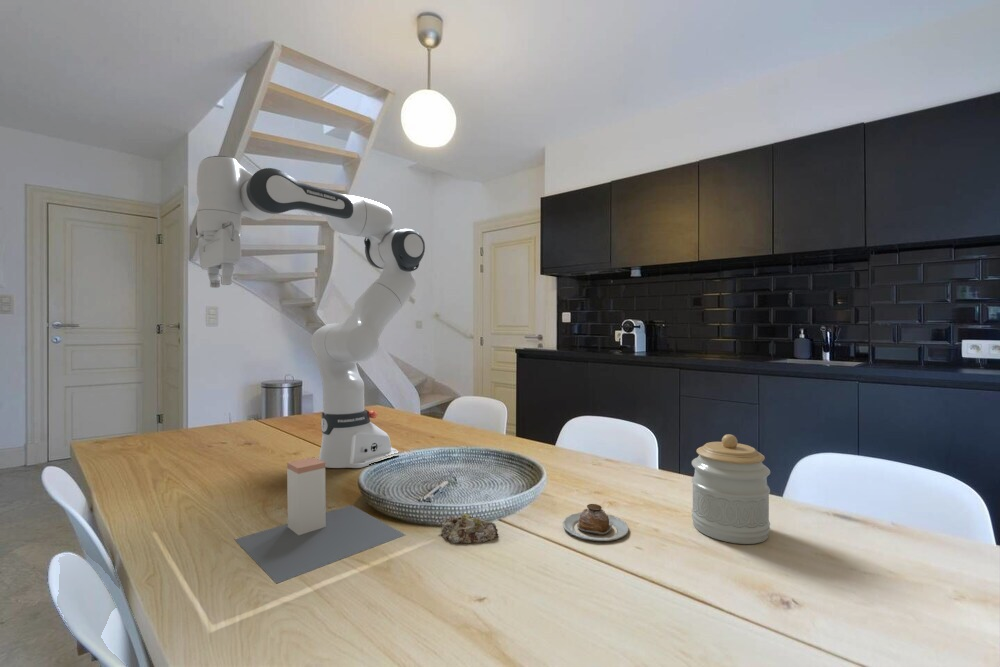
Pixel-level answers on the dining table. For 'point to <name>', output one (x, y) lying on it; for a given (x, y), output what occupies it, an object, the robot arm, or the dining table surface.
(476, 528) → the mineral rock
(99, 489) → the dining table surface
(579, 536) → the pastry
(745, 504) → the jar
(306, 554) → the rubber mat
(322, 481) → the cream block
